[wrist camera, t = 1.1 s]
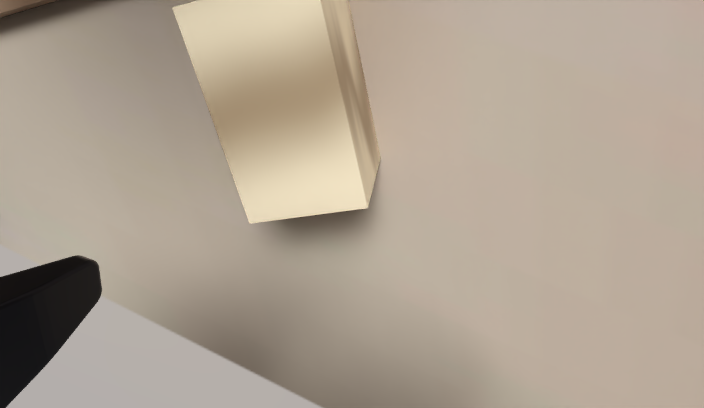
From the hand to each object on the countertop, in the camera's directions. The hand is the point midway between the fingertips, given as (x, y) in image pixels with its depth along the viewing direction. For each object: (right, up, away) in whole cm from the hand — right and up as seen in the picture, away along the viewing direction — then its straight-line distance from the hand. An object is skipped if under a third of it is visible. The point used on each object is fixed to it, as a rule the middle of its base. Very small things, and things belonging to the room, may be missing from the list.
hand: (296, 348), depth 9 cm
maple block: (-1, +8, +10) cm, 13 cm away
